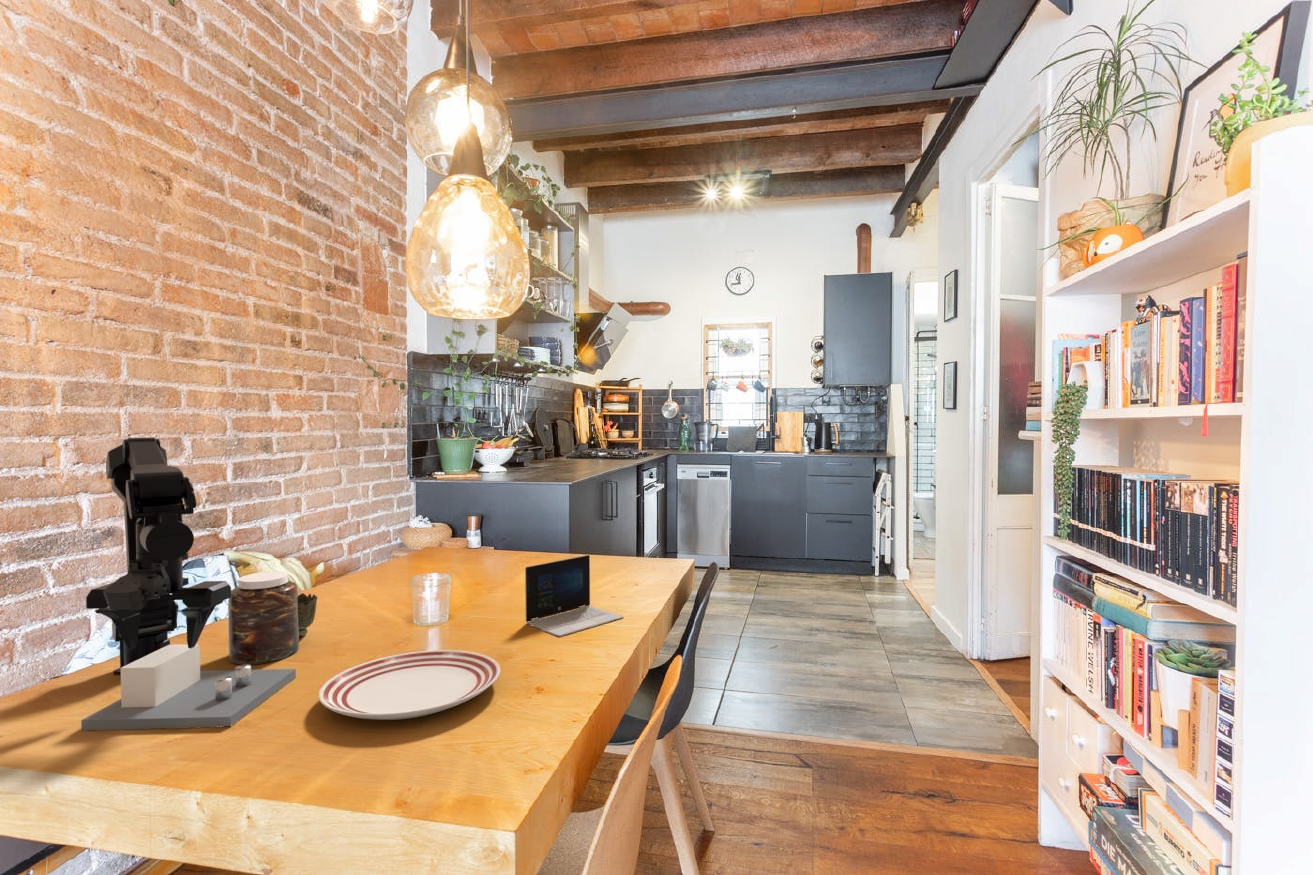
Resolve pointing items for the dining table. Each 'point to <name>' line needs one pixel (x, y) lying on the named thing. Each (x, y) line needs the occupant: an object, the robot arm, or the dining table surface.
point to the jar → (263, 619)
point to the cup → (306, 612)
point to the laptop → (562, 597)
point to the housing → (159, 675)
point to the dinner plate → (409, 684)
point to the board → (195, 704)
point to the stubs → (225, 683)
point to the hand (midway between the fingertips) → (161, 648)
